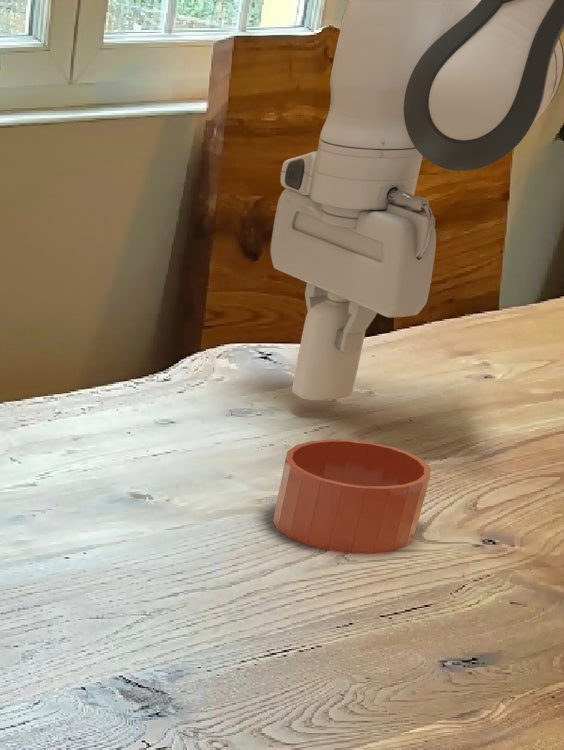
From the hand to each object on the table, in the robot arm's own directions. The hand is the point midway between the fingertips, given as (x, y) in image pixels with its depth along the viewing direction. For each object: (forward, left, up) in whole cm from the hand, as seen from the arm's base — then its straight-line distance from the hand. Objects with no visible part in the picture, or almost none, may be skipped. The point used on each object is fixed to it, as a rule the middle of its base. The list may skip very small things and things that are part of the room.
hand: (331, 344), depth 137 cm
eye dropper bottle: (0, 0, -5) cm, 5 cm away
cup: (+16, +29, -6) cm, 34 cm away
